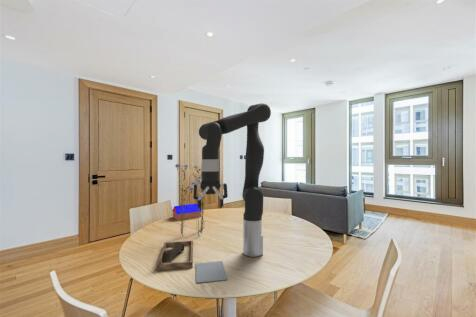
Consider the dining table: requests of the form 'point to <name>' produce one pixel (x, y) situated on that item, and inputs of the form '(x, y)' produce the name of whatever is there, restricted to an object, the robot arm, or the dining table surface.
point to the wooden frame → (175, 264)
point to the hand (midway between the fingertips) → (210, 208)
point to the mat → (210, 272)
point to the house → (186, 212)
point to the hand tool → (172, 252)
